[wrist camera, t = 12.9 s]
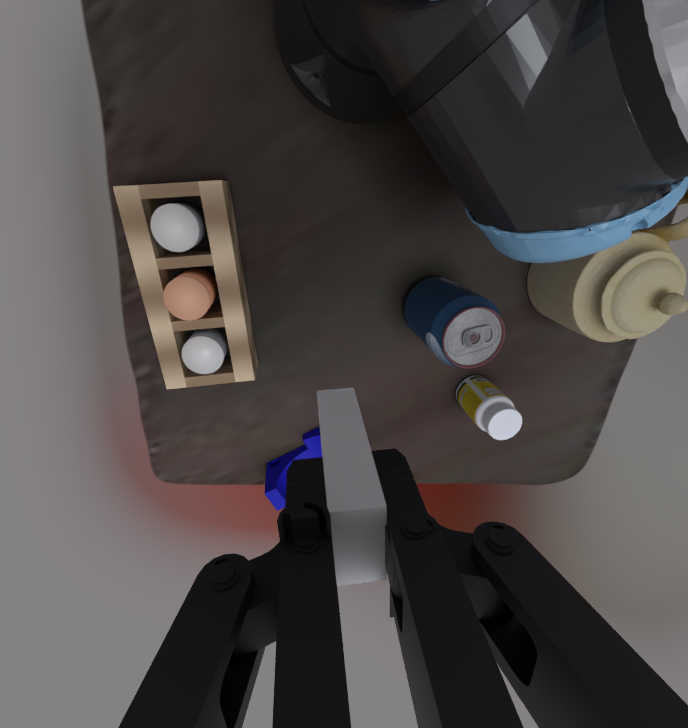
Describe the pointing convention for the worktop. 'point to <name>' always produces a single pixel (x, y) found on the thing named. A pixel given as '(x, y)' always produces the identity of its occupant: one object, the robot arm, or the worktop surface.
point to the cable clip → (279, 466)
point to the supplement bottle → (488, 407)
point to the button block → (159, 264)
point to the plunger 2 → (205, 350)
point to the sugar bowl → (615, 286)
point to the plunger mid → (190, 294)
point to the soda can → (454, 322)
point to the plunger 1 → (178, 226)
